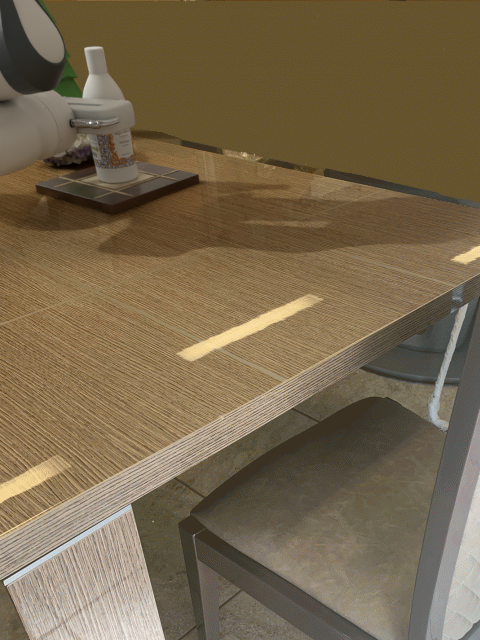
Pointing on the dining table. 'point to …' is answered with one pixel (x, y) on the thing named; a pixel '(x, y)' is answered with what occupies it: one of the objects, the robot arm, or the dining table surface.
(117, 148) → the bath foam
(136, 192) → the game board
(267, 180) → the dining table surface
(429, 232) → the dining table surface
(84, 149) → the geode
